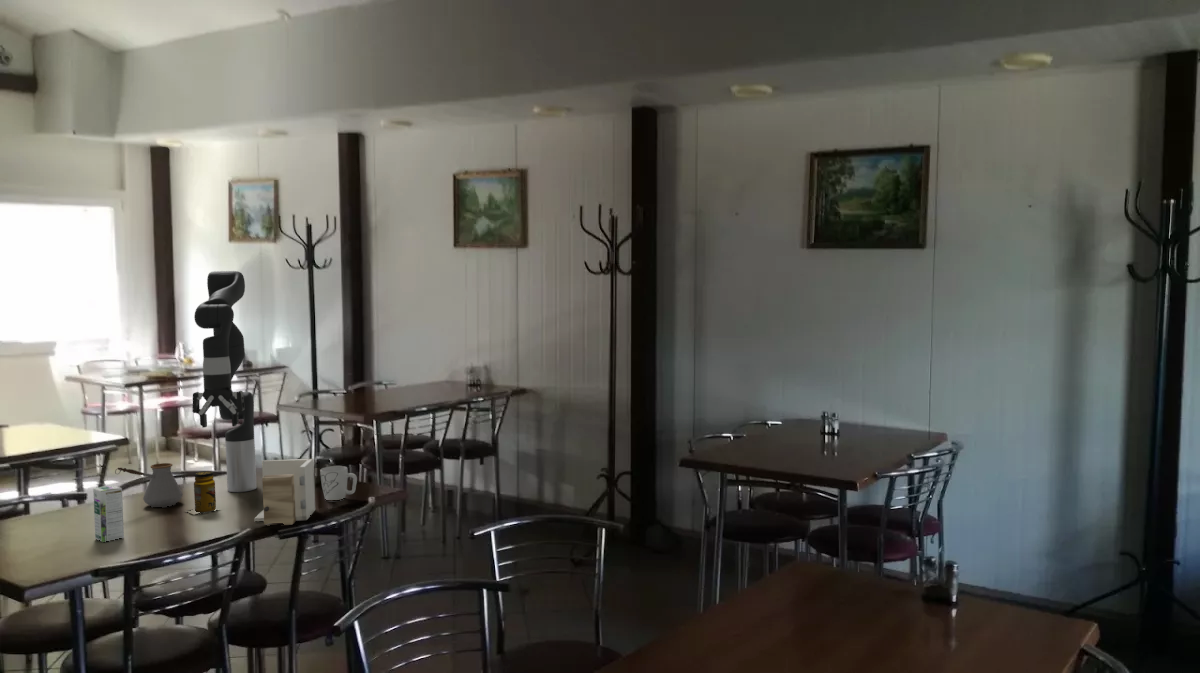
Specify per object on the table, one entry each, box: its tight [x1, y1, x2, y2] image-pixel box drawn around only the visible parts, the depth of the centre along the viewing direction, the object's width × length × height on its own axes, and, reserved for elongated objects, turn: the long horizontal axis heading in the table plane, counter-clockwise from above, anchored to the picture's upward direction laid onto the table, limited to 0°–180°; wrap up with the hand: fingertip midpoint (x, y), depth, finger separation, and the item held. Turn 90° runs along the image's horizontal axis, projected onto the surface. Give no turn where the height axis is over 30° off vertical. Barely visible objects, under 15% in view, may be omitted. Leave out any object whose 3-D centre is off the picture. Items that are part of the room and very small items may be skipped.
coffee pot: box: [114, 462, 184, 508], centre depth 294 cm, size 21×12×15 cm, turn 153°
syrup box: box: [92, 485, 125, 543], centre depth 260 cm, size 6×6×14 cm
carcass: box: [254, 458, 316, 522], centre depth 281 cm, size 14×15×16 cm
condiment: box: [184, 470, 217, 515], centre depth 290 cm, size 7×8×12 cm
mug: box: [319, 465, 358, 501], centre depth 302 cm, size 11×8×10 cm
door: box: [261, 474, 296, 526], centre depth 274 cm, size 5×8×14 cm, turn 95°
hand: (219, 426), depth 277 cm, fingers open, 8 cm apart
